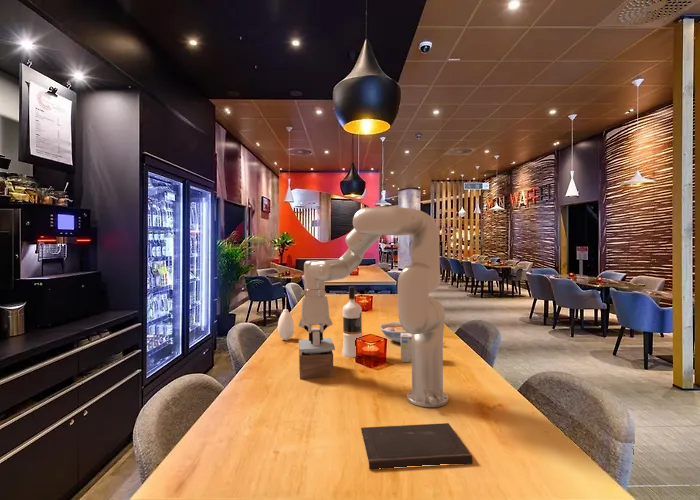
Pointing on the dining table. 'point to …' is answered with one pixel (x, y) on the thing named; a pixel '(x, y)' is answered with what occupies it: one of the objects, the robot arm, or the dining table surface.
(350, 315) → the vodka
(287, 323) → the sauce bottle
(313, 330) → the lid
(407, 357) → the light bulb box
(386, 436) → the hardcover book
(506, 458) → the dining table surface
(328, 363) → the walnut box
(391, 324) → the ramen bowl
